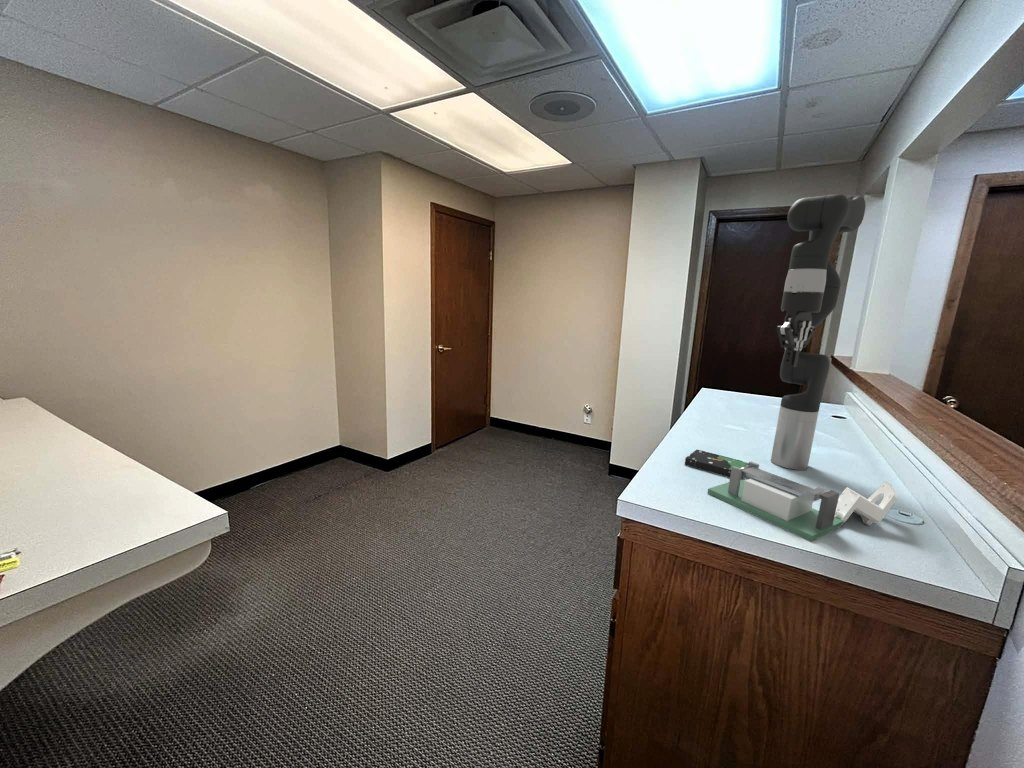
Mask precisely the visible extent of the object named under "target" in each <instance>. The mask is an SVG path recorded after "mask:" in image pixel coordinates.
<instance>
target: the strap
mask: <svg viewBox="0 0 1024 768" xmlns="http://www.w3.org/2000/svg"><path fill="white" fill-rule="evenodd" d="M741 469H742V474H743V475H745V477H746V476H748V477H751V478H754V479H756V480H759V481H761V482H764V483H767V484H769V485H772V486H774V487H777V488H779V489H782V490H785V491H787V492H790V493H792V494H795V495H798V496H800V497H803V498H805V499H808V500H811V501H813V503H815V502H818V501H819V500H821V499H820V498H819V495H820V494H822V493H825V492H827V491H828V490H827V489H826V488H823V487H820V486H817V487H815V488H812V487H810V486H807V485H804V484H802V483H800V482H796V481H793V480H790V479H789V478H785V477H782V476H779V475H777V474H774V473H772V472H769V471H765V470H763V469H760V468H759V469H758V468H755V467H753V466H752V465H749V466H746V467H742V468H741Z"/></svg>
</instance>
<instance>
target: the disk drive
mask: <svg viewBox="0 0 1024 768" xmlns="http://www.w3.org/2000/svg"><path fill="white" fill-rule="evenodd" d="M748 464H749V462H746V461H743V460H740V459H736V458H733V457H728V456H723V455H722V454H721V455H720V454H716V453H712V452H709V451H706V450H701V449H696V450H694V451H693V452H691V453H690V454H689V455H687V456H686V457H685V459H684V465H685V466H687V465H688V467H691V468H693V469H694V468H695V469H698V470H701V471H705V472H709V473H713V474H716V475H720V476H723V477H726V476H727V478H729V477H730V475H731V469H732V467H733V466H735V467H738V468H742V467H746V466H748ZM744 477H746V475H743V474H742V475H741V480H743V478H744Z"/></svg>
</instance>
